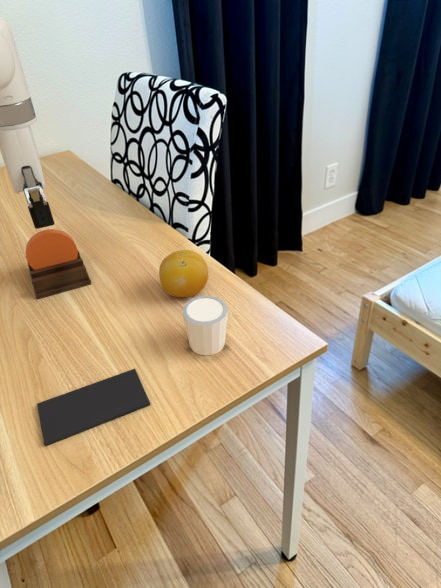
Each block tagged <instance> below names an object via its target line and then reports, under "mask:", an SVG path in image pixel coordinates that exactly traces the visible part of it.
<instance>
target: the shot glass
mask: <svg viewBox="0 0 441 588" xmlns="http://www.w3.org/2000/svg"><path fill="white" fill-rule="evenodd" d="M182 317H183V321H184V326H185V330H186V335H187V340H188V343H189V347H190V349H191V350H192V351H193V352H194V353H195V354H197V355H201V356H213V355H215V354H217V353H220V352H221V351H222V350H223V349H224V347H225V344H226V336H227V327H228V326H227V325H228V317H229V308H228V304H227V303H226V301H224V300H223V299H222V298H219V297H218V296H215V295H213V296H212V295H199V296H196V297H193V298H191V299H190V300H189V299H188V301H187V302H185V304H184V305H183V307H182Z"/></svg>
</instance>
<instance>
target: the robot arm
mask: <svg viewBox="0 0 441 588" xmlns="http://www.w3.org/2000/svg"><path fill="white" fill-rule="evenodd" d="M37 120H38V119H37V115H36V112H35V108H34V105H33V101H32V97H31V94H30V91H29V87H28V84H27V80H26V76H25V73H24V69H23V66H22V62H21V59H20V56H19V52H18V49H17V45H16V41H15V38H14V35H13V32H12V29H11V26H10V24H9V23H8V21H7V20H6V19H5V18H4V17H2V16H0V154H1V157H2V160H3V163H4V166H5V169H6V171H7V174H8V178H9V181H10V183H11V186H12V188H13V189H12V190H13V192H14V193H15V194H17V195H20V193H23V195H24V197H25V201H26V203H27V209H28V213H29V214H30V218H31V220H32V223H33V227H34V228H35V230H38V229H43V228H46V227H52V226H54V225H55V219H54V217H53V213H52V210H51V207H50V203H49V201H47V199H46V196H45V192H44V189H45V187H46V181H45V177H44V172H43V168H42V167H43V166H42V163H41V158H40V155H39V151H38V147H37V144H36V139H35V137H34V133H33V130H32V127H31V125H33V124H35V123H36V122H37Z"/></svg>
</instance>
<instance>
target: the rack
mask: <svg viewBox="0 0 441 588" xmlns="http://www.w3.org/2000/svg"><path fill="white" fill-rule="evenodd" d="M76 247H77V245H76ZM77 248H78V247H77ZM25 258H26V261H27V257H26V256H25ZM27 267H28V270H29V271H28V272H29V275H30V279H31V284H32V288H33V292H34V295H35V298H36V300H40V299H43V298H47V297H50V296H51V297H52V296H55V295H58V294H61V293H65V292H68V291H71V290H76V289H79V288H82V287H86V286H89V285H92V281H91V278H90V276H89V273H88V271H87V267H86V265H85V264H84V261H83V258H82V257H81V254H80V251H79V250H78V256H77V259H76V260H72V261H68V262H64V263H60V264H57V265H53V266H49V267H45V268H41V269H37V270H34V269H33V268H32V267H31V266H30V265H29V263H28V261H27Z"/></svg>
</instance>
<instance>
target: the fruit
mask: <svg viewBox="0 0 441 588" xmlns="http://www.w3.org/2000/svg"><path fill="white" fill-rule="evenodd" d="M158 276H159V283H160V285H161V288H163V290H164V291H165V292H166V293H168V294H169V295H170V296H173V297H175V298H188V297H193V296H196V295H198V294H199V293H201V291H203V289H204V288H205V287H206V285H207V283H208V279H209V267H208V264H207V262H206V260H205V259H204V257H203V256H202V255H201V254H199V253H198V252H197V251H194V250H189V249H181V250H175V251H173V252H171V253H170V254H167V256H165V257H164V258H163V260H162V261H161V262H160V264H159V268H158Z"/></svg>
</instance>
